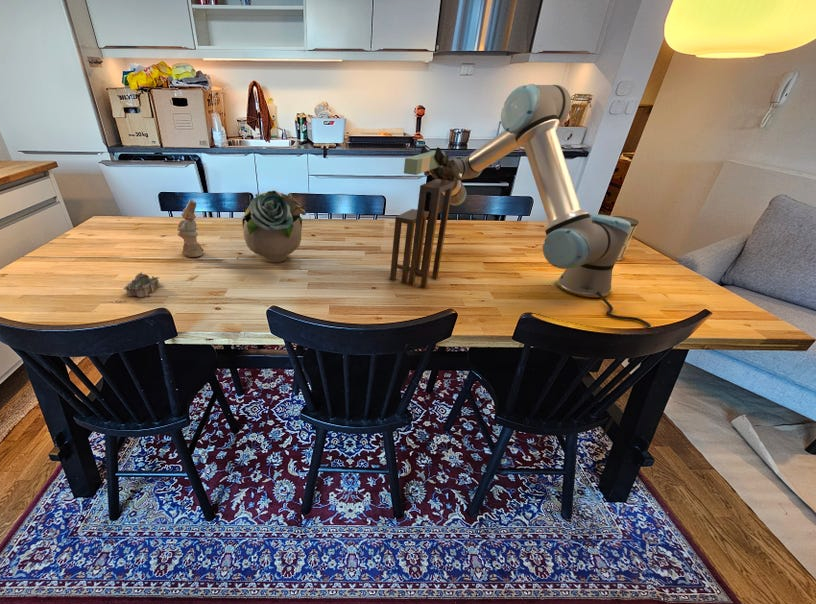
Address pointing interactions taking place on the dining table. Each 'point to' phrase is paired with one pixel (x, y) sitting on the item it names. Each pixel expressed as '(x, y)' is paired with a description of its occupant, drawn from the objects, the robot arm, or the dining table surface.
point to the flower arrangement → (273, 225)
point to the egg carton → (142, 285)
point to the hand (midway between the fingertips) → (429, 151)
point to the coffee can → (631, 231)
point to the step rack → (422, 234)
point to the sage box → (421, 163)
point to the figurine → (189, 231)
